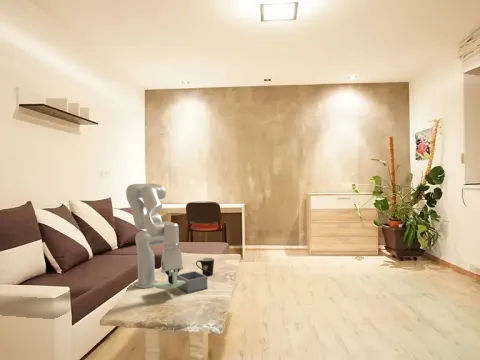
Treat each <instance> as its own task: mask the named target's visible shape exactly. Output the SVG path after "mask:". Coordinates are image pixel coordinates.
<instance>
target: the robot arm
mask: <svg viewBox="0 0 480 360" xmlns="http://www.w3.org/2000/svg"><path fill="white" fill-rule="evenodd" d="M166 195H167V192H166V188H165V187H164V185H161V184H157V183H134V184H133V183H132V184H130V185H128V186H127V188H126V191H125V197H126V200H127V203H128V205H129V206H130V209H131V213H132V218H133V222H134V226H135V228H136V229H137V230H141V231H139V232H137V233H136V234H135V239H134V241H135V246H136V253H137V254H136V256H137V282H135V283H134V285H135V287H136V288H137V289H149V288H153V287H152V284H155V283H159V282H158V280H156V279H155V278H156V277H155V276H156V275H155V274H156V271H155V266H156V265H155V263H156V262H155V252H154V251H153V249H152V247H156V246H162V245H163V250H162V252H161V260H160V261H161V262H160V263H161V264H160V265H161V271H160V273H163V274H165V275H167V281H168V282H169V283H171V284H172V275H171V272H176V274H177V275H178V274H179V272H180V271H181V270H183V269H184V267H183V256H182V251H181V249H180V247H182V243H180V232H179V231H180V230H179V224H178V223H176V222H172V221H163V220H162V217H161V215H160V214H159V212H160V211H161V210H162V209H163V204H162V202H161V200H163V199H165V198H166ZM141 198H142V200H141Z"/></svg>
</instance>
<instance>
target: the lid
mask: <svg viewBox="0 0 480 360" xmlns="http://www.w3.org/2000/svg"><path fill="white" fill-rule="evenodd" d="M171 275H172V284H171V283H169V282H168V280H165V281H160V282H158V283H155V284H152V287H151V288H155V289H159V290H164V291H165V290H169V289H173V288H177V287H178V286H182V284H184V283H185V281H182V280H177V275H178V274H176V272H173V271H171Z"/></svg>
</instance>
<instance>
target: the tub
mask: <svg viewBox="0 0 480 360" xmlns="http://www.w3.org/2000/svg"><path fill="white" fill-rule="evenodd" d="M177 280H182V281H185V283H184V284H182V286H178V287H176V288H178V289H179V290H181V291H183V292H184V293H186V294H188V295H189V294H192V293H196V292H201V291H204V290H208V276H205V275H203V273H200V272H198V271H196V270H193V271H188V272H184V273H178V274H177Z"/></svg>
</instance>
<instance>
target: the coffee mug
mask: <svg viewBox="0 0 480 360" xmlns="http://www.w3.org/2000/svg"><path fill="white" fill-rule="evenodd" d="M198 262H199V263H200V264H201V267H200V266H199V265H198ZM195 265H196V266H197V267H198V269H200V270H201V272H202V273H201V274H203V275H205V276H207V277H212V276H213V275H214V267H215V258H214V257H203V258H201V259H200V260H197V261H196V262H195Z"/></svg>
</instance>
